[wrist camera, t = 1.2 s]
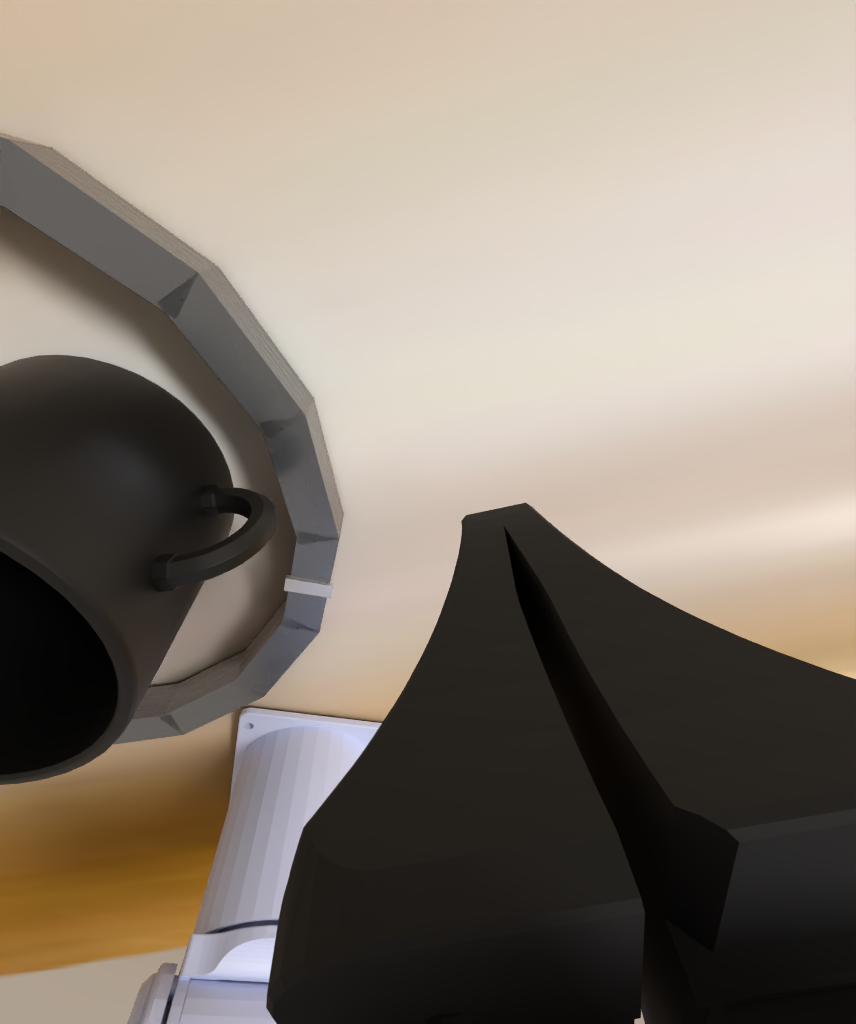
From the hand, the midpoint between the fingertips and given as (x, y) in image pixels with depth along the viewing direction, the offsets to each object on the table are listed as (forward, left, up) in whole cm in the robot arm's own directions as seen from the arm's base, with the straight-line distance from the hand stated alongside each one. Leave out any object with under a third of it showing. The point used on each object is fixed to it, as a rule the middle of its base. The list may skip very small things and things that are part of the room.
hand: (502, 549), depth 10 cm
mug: (-6, +11, -9) cm, 15 cm away
